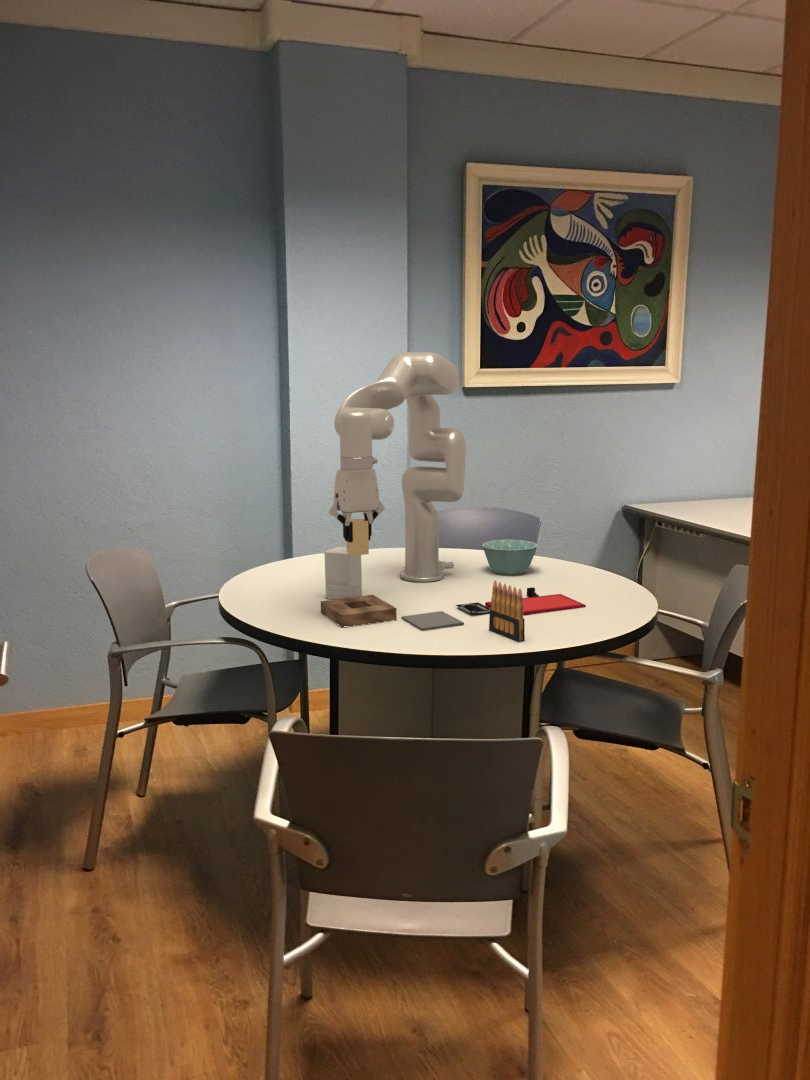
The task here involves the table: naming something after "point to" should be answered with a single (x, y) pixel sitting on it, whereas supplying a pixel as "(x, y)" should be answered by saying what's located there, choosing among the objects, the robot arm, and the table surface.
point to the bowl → (509, 555)
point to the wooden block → (359, 538)
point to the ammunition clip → (507, 612)
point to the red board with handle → (532, 604)
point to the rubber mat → (432, 620)
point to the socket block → (358, 610)
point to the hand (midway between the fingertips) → (357, 539)
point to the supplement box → (342, 574)
